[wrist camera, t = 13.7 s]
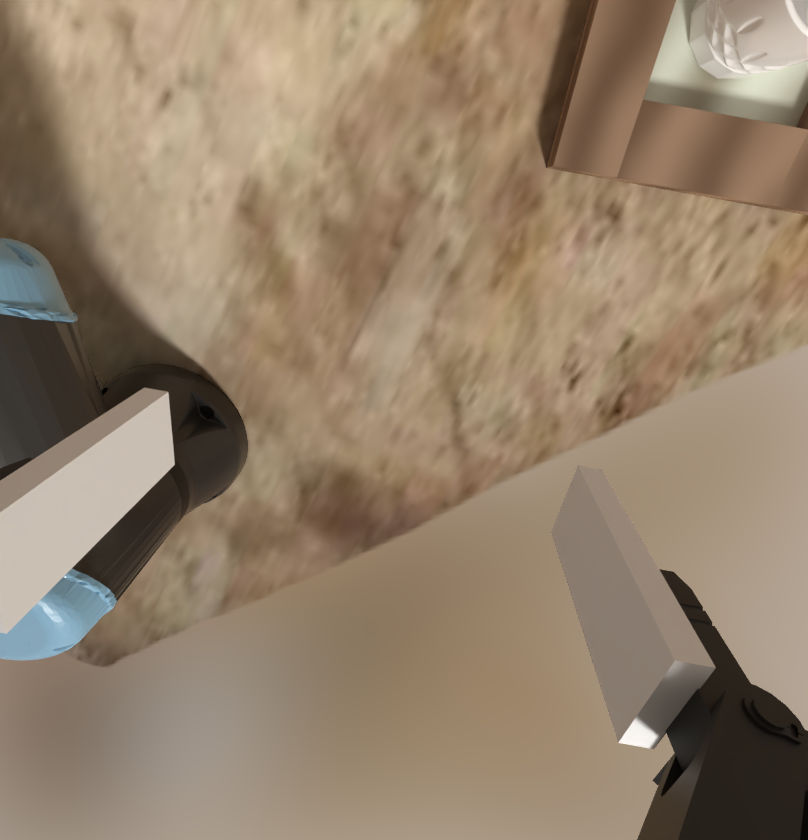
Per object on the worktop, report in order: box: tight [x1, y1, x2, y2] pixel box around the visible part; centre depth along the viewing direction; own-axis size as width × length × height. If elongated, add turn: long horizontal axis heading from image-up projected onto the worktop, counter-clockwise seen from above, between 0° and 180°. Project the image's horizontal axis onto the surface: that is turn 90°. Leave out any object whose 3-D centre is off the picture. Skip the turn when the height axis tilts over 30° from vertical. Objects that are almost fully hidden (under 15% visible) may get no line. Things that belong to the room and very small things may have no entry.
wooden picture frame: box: [546, 0, 808, 215], centre depth 28 cm, size 20×20×2 cm
